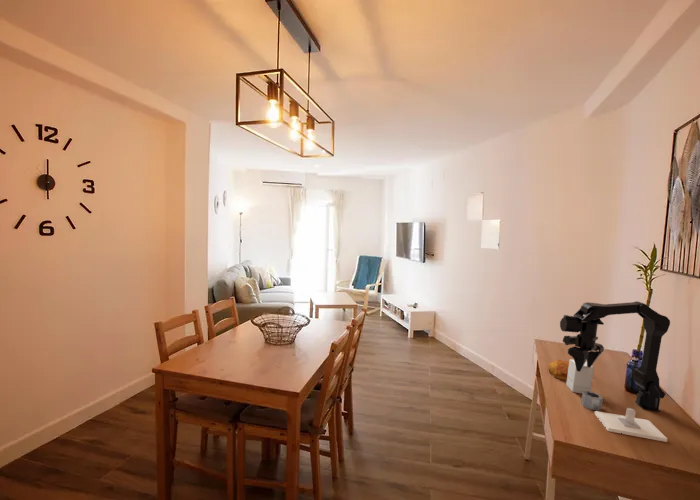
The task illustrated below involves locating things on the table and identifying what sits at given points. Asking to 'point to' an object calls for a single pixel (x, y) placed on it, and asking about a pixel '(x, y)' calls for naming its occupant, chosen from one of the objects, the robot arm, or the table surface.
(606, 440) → the table surface
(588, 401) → the tube
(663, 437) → the shaft stand
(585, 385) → the supplement box
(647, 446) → the table surface
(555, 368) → the croissant
